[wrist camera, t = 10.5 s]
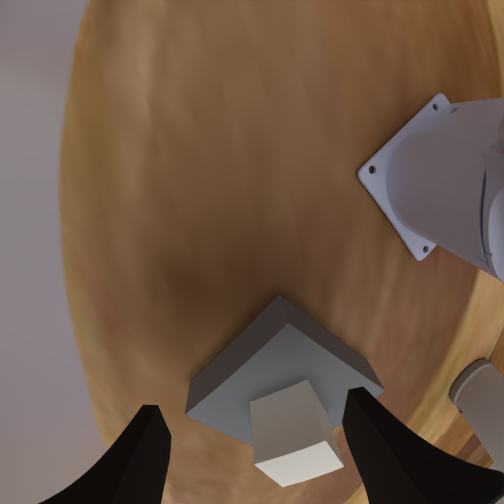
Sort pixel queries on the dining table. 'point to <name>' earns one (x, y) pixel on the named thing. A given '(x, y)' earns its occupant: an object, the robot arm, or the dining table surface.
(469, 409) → the travel mug
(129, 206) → the dining table surface
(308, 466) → the top block
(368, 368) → the base block
